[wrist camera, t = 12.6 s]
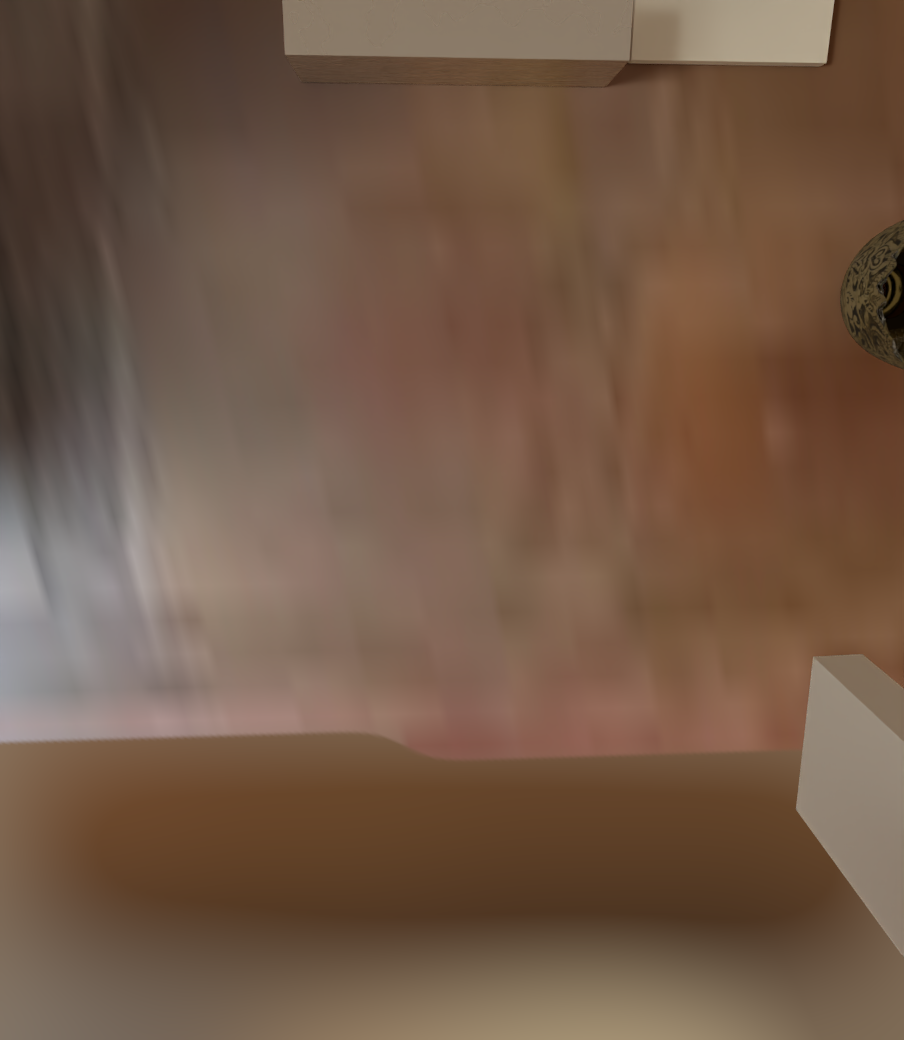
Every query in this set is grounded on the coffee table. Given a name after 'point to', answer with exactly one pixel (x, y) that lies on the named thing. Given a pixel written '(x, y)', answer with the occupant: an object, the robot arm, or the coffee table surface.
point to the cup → (877, 296)
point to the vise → (458, 41)
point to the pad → (731, 32)
